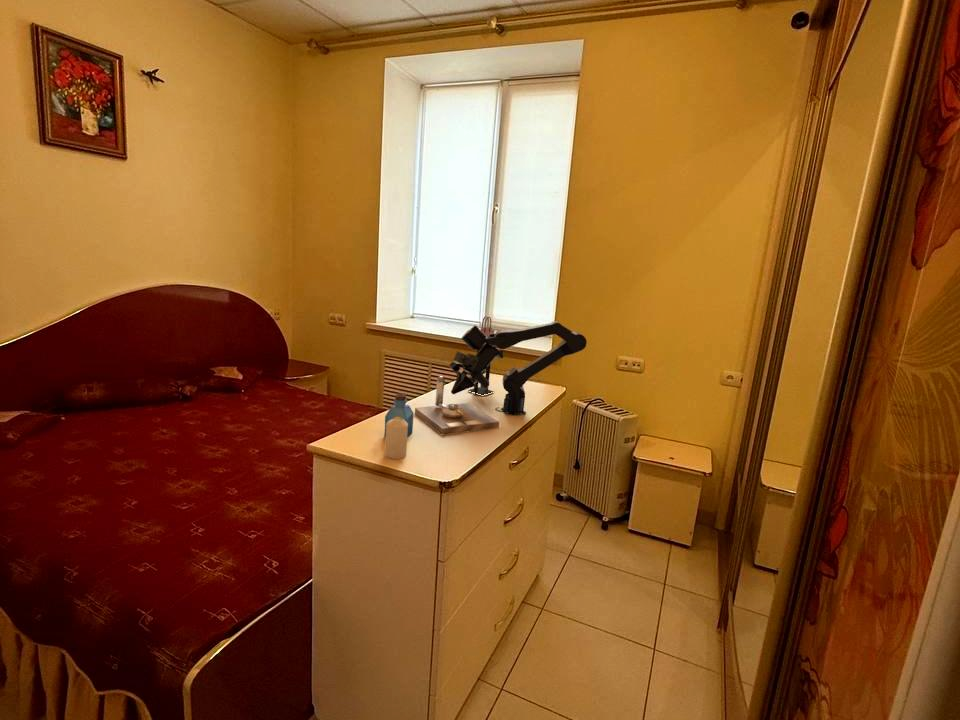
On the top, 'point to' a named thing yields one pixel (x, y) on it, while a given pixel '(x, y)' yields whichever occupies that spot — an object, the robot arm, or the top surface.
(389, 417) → the perfume bottle
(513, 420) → the top surface
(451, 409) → the metal post and dome
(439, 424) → the stand
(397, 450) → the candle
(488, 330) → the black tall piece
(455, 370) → the robot arm
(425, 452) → the top surface
